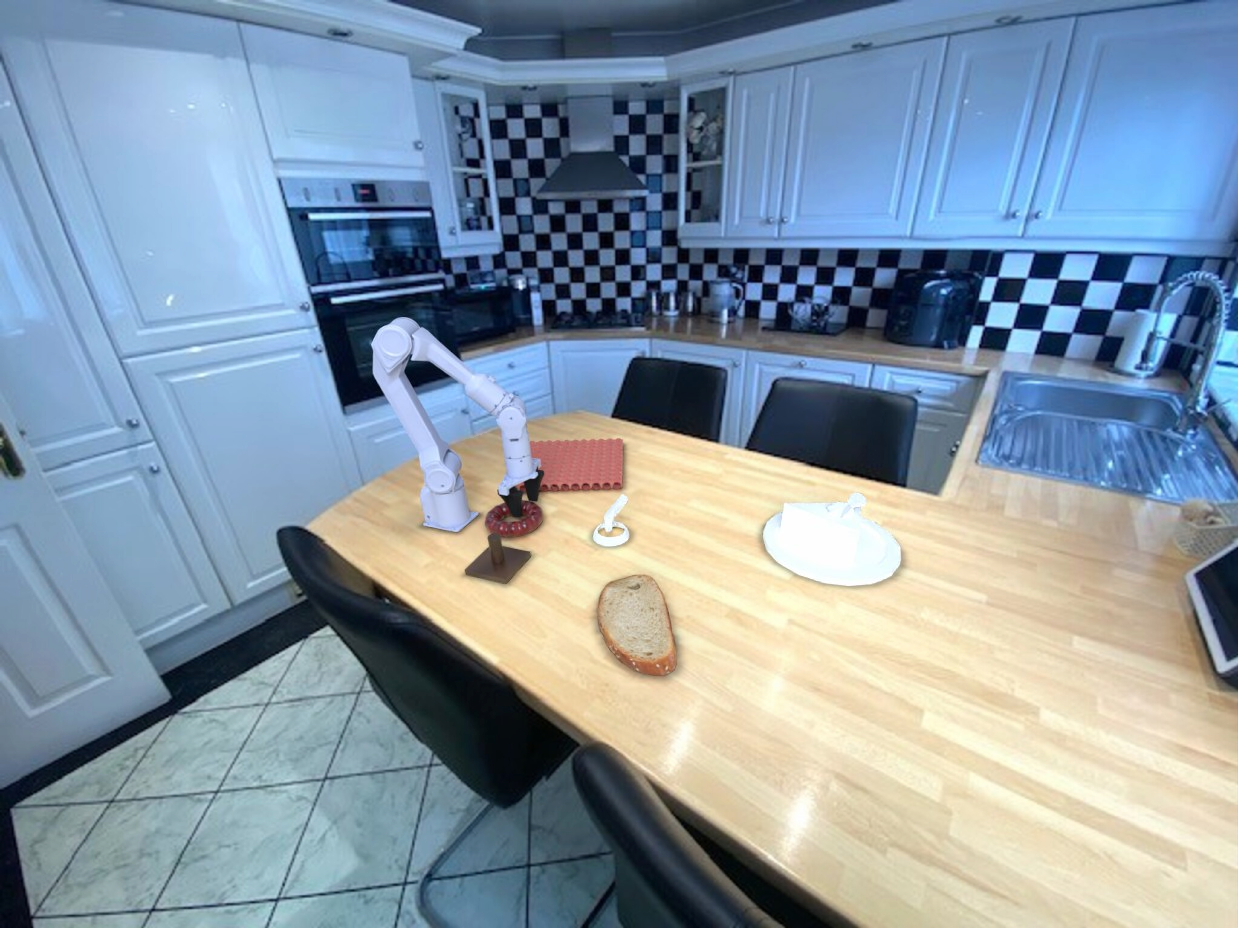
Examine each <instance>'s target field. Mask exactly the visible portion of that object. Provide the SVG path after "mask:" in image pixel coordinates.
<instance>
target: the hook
mask: <svg viewBox="0 0 1238 928" xmlns="http://www.w3.org/2000/svg"><path fill="white" fill-rule="evenodd" d="M628 503H629V498H628V496H627V495H626V494H624V493H622V494H621V495H619V497H618V498H617V499H616V500H615V501H614V503H613V504H612V505H611V506H610V508H609V509H608V510H607V511H606V512H605V514H604V515H603V522H602V523H600V524H598V525H597V526H596V528H595V529H594V531H593V534H592V539H593V541H594V542H595V543H596V544H598V545H599V546H601V547H618V546H620V545H624V544H625V543H626V542H628V540H629V539H630V535H631V533H630V532H629V529H628V527H627V526H626V525H625V524H624V523H622V522H619V521H615V517H616V516H617V515H619V513H620V512H621V511H622V510H623V508H624V507H626V505H627V504H628ZM613 528H620V529H622V530H624V531H623V532H622V533H621V534H619V535H616V536H603V535H602V534H600V533H599V531H601V530H603V529H604V532H605V533H611V532H613Z"/></svg>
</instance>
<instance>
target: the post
mask: <svg viewBox="0 0 1238 928" xmlns="http://www.w3.org/2000/svg"><path fill="white" fill-rule="evenodd" d="M487 542H488V547H486V548H485V550H484V551H483V552H481V553H480V554H479V555H478V556H477V557H476V558H475V559H474V560H473V561H472V562H471V563H469V565H468V566H467V567H465V569H464V574H465V575H466V576H470V577H474V578H478V579H482V580H486V581H490V582H494V583H499V584H504V585H507V584H508V583H509V582H510V581H511V580H512V579H513V577H514V576H515V575H516V574H517V573H518V572H519V571H520V569H522V567H524V565H525V564H526V563H527V562H528V561H529V559H530V558H531V557H532V553H531V551H529V550H524V549H520V548H515V547H509V546H506V545H503V543H502V537H501V535H500V534H499V533H490V534H488V536H487Z"/></svg>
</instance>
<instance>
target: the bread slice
mask: <svg viewBox="0 0 1238 928" xmlns="http://www.w3.org/2000/svg"><path fill="white" fill-rule="evenodd" d="M596 606H597V608H596V609H597V610H596V611H597V622H598V628H599V631H600V632H601V634H602V635H603V637H604V641H605V644H606V645H607V647H608V649H609V651H610V652H612V654H613V655H614V656H615V657H616V659H618V660H619V661H620V662H621V663H622V664H624V665H626V666H627V667H628V668H631V669H633V670H634V671H636V672H640V673H643V674H646V675H651V676H661V677H663V676H664V675H667V674H668V675H669V674H670V673H672V672H673V671H675V669H676V667H677V646H676V641H675V635H674V632H673V628H672V622H671V619H670V618H671V617H670V613H669V608H668V605H667V602H666V598H665V595H664V593H663V592H662V590H661V589H660V587H659V584H658V583H657V582H656V580H655V579H654V578H653V577H652V576H650V575H648V574H633V575H630V576H626V577H623V578H619V579H615V580H611V581H610V582H608V583H607V584H606V585H605V586H604V588H602V590H601V592H600V594H599V597H598V602H597V605H596Z"/></svg>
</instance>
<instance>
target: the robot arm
mask: <svg viewBox="0 0 1238 928" xmlns="http://www.w3.org/2000/svg"><path fill="white" fill-rule="evenodd" d="M370 344H371V345H370V346H371V349H372V352H373V353H372V375H373V377H374V379H375V380H376V382H377V385H378V386H379V387H380V389H381V391H382V393H383V395H384V396H385V398H386V399H387V402H388V403H389V404H390V406H391V408H392V410H393V411H394V413H395V415H396V417H397V418H398V420H399V422H400V423H401V425H402V427H403V429H404V430H405V432H406V434H407V435H408V438H409V439H410V441H411V442H412V444H413V446H414V447H415V449H416V451H417V452H418V458H419V468H420V469H421V471H422V473H423V482H424V485H423V487H422V488H421V490H420V494H419V500H420V505H421V509H422V513H423V517H424V522H423V523H422V525H423V527H429V528H434V529H439V530H444V531H448V532H453V533H459V532H460V531H462V530H463V529H464V528H465V527H466V526H467V525H469V524H470V523H471V522H472V521H473V520H474V519H475V518H477V517H478V516H479V512H478V511H472V510H470V507H469V501H468V497H467V491H466V485H465V482H464V481H465V479H463V478H462V476H461V474H460V471H461V469H462V466H463V461H462V458H461V456H460V455H459V453H458V452H456V451H455V450H453V448H451V447H450V444H449V442H447V441H445V440H443V439H442V438H441V436H440V435H439V433H438V431H437V429H436V427H435V425H434V424H433V421H432V420H431V417H430V416H429V414H428V412H427V411H426V409H425V407H424V405H423V403H422V402H421V400H420V399H419V397H418V394H417V393H416V391H415V389H414V388H413V386H412V384H411V382H410V379H409V378H408V377H407V375H406V373H405V369H406V367H407V365H408V362H409V360H410V361H416V362H430V363H431V364H433V365H434V366H435V367H437V368H438V369H440V370H441V371H443V373H445V374H446V375H448V376H449V377H451V379H454V380H455V381H456V382H458V383H459V384H461V385H462V386H463V387H464V390H465V395H466V396H467V398H469V399H470V400H472V402H474V403H475V404H476V405H478V406H479V407H480V408H482V409H483V410H485V411H486V412H487V413H488V414H490V416H493V417H494V418H496V419H495V421H496V424H497V426H498V427H499V428H500V431H501V436H500V437H501V444H502V451H503V458H504V463H505V464H504V465H505V470H506V472H505V474H504V476H503V479H502V481H501V482H500V484H499V485H497V489H496V491H497V495H498V497H500V498H501V499H502V501H503V503H504V502H505V503H506V505H507V507H508V508H509V510H510V513H511V515H510V516H511V517H512V518H518V519H520V518H521V517H522V516H523V514H522V500H523V498H524V493H525V494H526V497H527V501H531V502H534V503H537V502H538V501H539V496H540V490H539V489H540V484H541V481H542V478H543V476H544V471H543V470H538V468H540V467H541V461H540V459H535V458H532V456H531V448H530V441H531V440H530V434H529V430H528V423H527V405H526V403H525V402H524V400H522V398H521V397H520V396H518V395H515V394H514V393H512V391H510V392H508V391H507V390H506V389H504V388H503V387H502V386H501V385H500V384H498V383H497V382H496V380H497V379H496V377H495V376H493V375H492V374H490V375H487V374H486V373H484V372H481V373H479V372H474V371H473V370H472V369H471V368H470V367H468V366H467V364H465V362H463V361H462V360H461V359H460V358H459V357H457V355H455V353H453V352H451V350H449V349H448V348H447V347H446V346H445V345H444V344H443V343H442V342H440V341H439V340H438V339H437V337H435V336H434V335H433V334H432V333H431V332H430V331H429V329H426V328H425V327H423V326H420V325H419V324H418V323H417V322H416V321H415V320H413V319H412V318H409V317H405V316H403V317H401V316H400V317H397V318H395V319H393V320H392V321H391V322H390V323H388V324H386V325H384V326H381V327H380V328H379V329H378V330H377V332H376V334H375V336H374V338H373V340H372V342H371V343H370ZM410 357H411V358H410ZM522 482H523V483H524V485H525V489H526V492H524V491H520V490H517V488H516V487H515V486H516V485H517V484H520V483H522Z"/></svg>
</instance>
